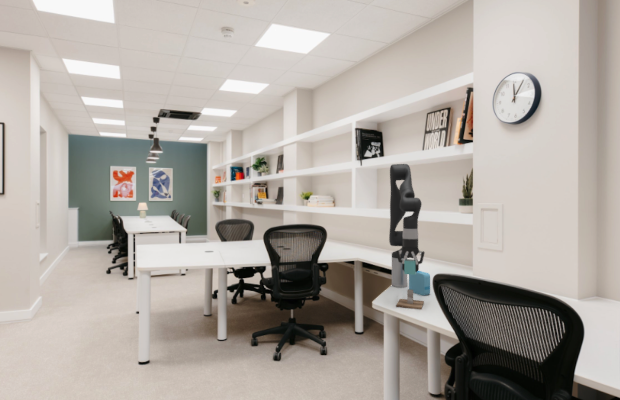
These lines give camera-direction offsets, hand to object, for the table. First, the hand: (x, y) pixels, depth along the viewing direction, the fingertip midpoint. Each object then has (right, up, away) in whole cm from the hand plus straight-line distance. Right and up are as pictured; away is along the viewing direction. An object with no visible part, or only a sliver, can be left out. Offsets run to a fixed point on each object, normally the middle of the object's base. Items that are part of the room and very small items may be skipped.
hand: (410, 271), depth 189 cm
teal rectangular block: (0, -1, 0) cm, 1 cm away
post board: (0, -17, 0) cm, 17 cm away
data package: (+11, -17, +23) cm, 30 cm away
